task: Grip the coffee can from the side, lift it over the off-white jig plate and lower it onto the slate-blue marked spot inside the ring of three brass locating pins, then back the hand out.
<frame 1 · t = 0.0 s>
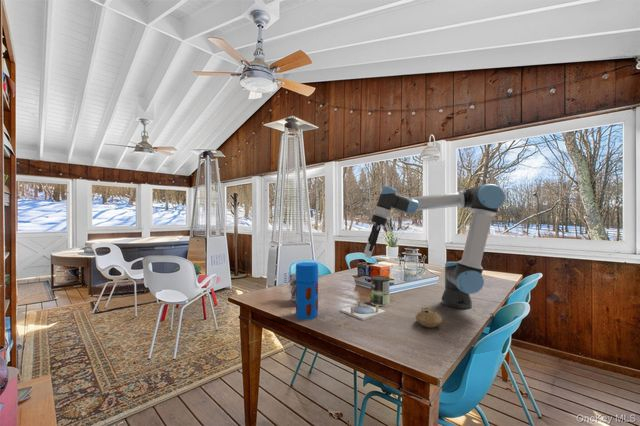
hand: (366, 255, 151), 28 cm above the table, tool tilted 20°, fingers open, 13 cm apart
thermos: (306, 316, 142), on the table
pin jig: (362, 312, 147), on the table
oil lamp: (427, 324, 131), on the table
coffee can: (380, 303, 161), on the table
robotic toy: (298, 302, 164), on the table
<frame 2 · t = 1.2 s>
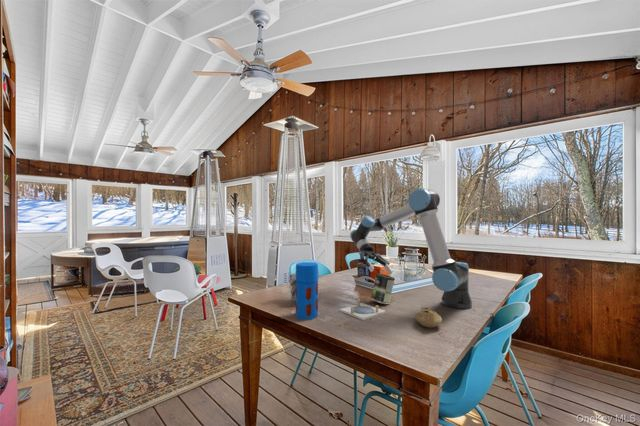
hand: (382, 271, 161), 17 cm above the table, tool tilted 60°, fingers open, 13 cm apart
coffee can: (380, 301, 161), point 1 cm above the table
everything else where it was.
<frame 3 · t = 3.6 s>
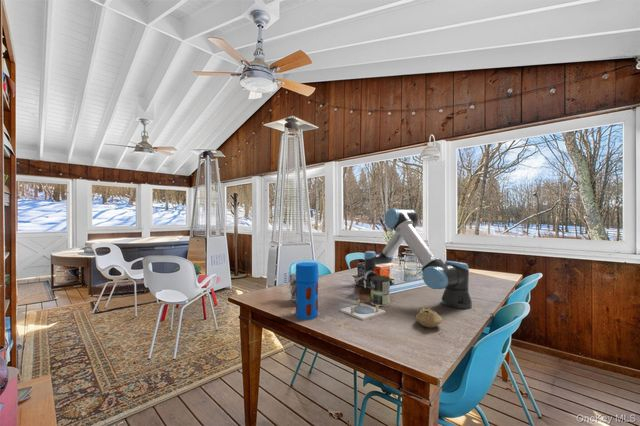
hand: (377, 285, 170), 7 cm above the table, tool horizontal, fingers open, 13 cm apart
coffee can: (380, 303, 161), on the table
everything else where it was.
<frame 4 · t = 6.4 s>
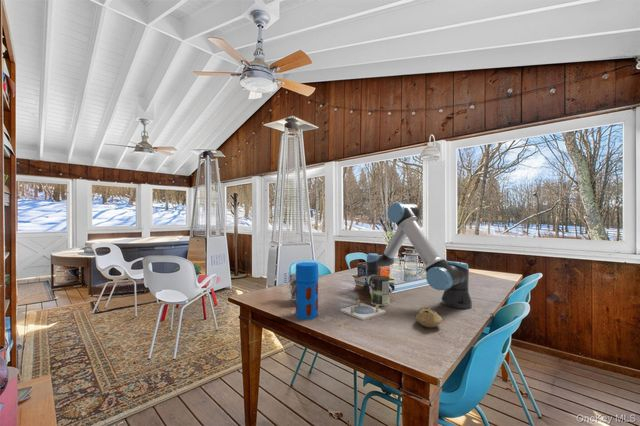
hand: (381, 291, 157), 8 cm above the table, tool horizontal, fingers closed on coffee can, 10 cm apart
coffee can: (380, 303, 161), on the table, touching gripper
everything else where it was.
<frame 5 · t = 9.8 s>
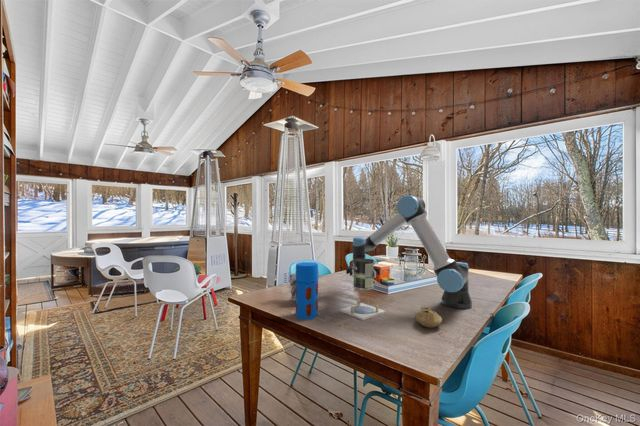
hand: (364, 274, 145), 19 cm above the table, tool horizontal, fingers closed on coffee can, 10 cm apart
coffee can: (363, 287, 150), point 11 cm above the table, touching gripper
everything else where it was.
when the fingers open (10 cm above the table, at t = 13.2 s): coffee can drops 1 cm, resting on pin jig.
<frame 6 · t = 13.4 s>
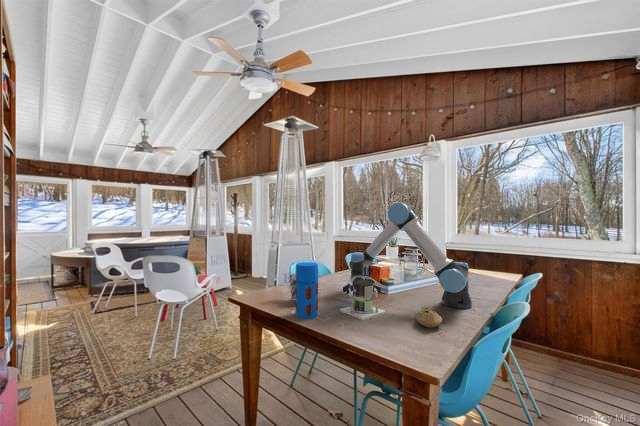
hand: (363, 294, 143), 10 cm above the table, tool horizontal, fingers open, 12 cm apart
coffee can: (362, 310, 147), point 1 cm above the table, touching pin jig
everything else where it was.
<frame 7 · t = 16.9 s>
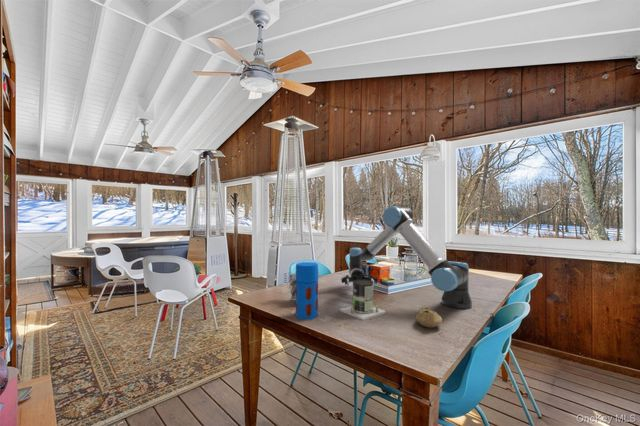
hand: (361, 283, 158), 11 cm above the table, tool horizontal, fingers open, 13 cm apart
nothing on the table moved.
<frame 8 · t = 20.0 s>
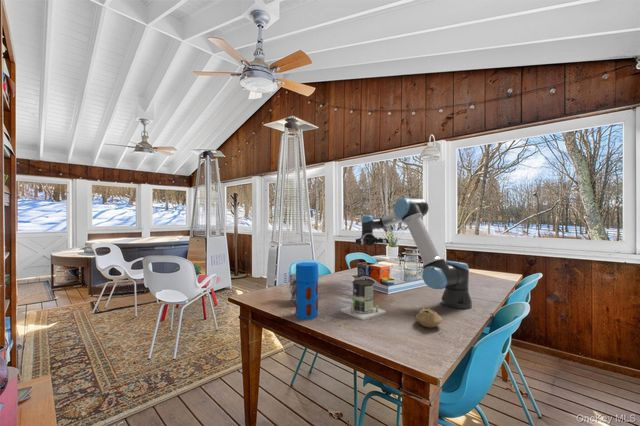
hand: (374, 242, 174), 32 cm above the table, tool horizontal, fingers open, 13 cm apart
nothing on the table moved.
at the end: coffee can 0.2 cm off-centre on the pin jig, point 0.9 cm above the pin jig's base; coffee can tilted 0°; the gripper is holding nothing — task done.
